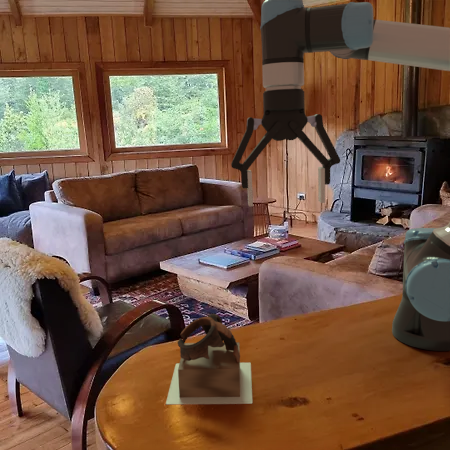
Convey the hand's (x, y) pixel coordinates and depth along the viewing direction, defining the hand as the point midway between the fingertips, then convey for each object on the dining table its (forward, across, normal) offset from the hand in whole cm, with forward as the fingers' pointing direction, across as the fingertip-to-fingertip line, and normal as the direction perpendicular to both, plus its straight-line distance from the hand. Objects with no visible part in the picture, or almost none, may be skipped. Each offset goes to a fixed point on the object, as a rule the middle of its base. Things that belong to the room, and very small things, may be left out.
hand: (286, 203), depth 100 cm
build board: (+30, +16, +15) cm, 37 cm away
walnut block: (+28, +15, +15) cm, 35 cm away
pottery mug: (+23, +15, +16) cm, 32 cm away
